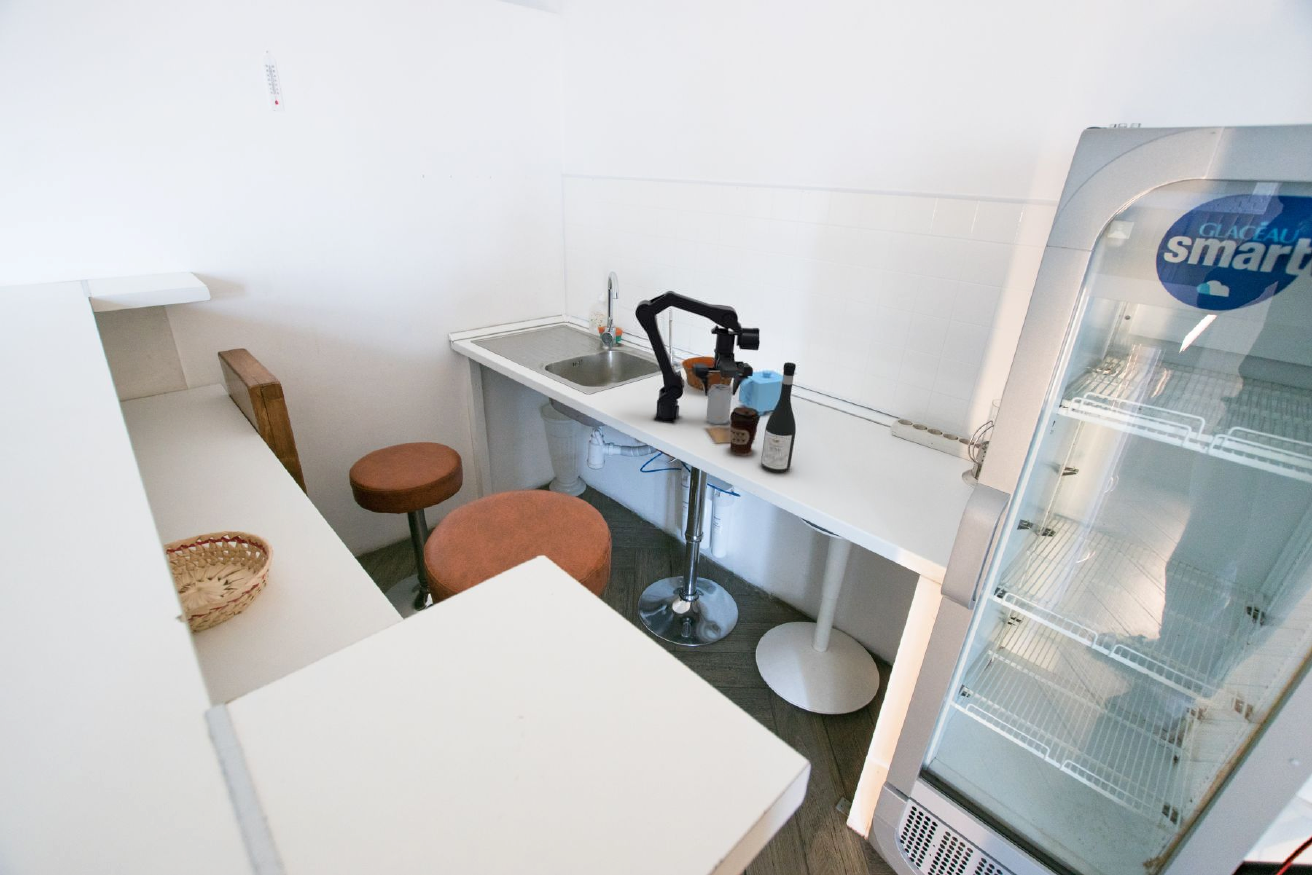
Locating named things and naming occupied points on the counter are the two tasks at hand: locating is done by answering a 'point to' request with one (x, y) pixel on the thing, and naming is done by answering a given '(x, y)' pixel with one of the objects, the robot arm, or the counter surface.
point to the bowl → (713, 377)
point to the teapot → (761, 390)
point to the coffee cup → (743, 429)
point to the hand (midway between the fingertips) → (719, 395)
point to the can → (718, 404)
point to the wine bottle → (780, 428)
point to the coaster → (720, 434)
